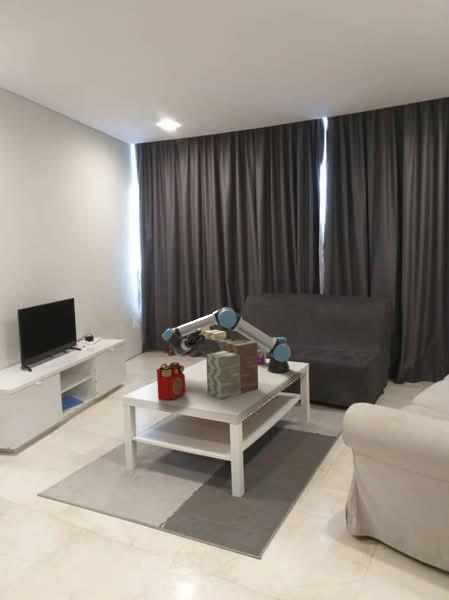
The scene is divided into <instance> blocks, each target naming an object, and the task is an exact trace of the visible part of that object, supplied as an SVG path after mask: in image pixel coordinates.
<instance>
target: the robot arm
mask: <svg viewBox="0 0 449 600" xmlns="http://www.w3.org/2000/svg"><path fill="white" fill-rule="evenodd" d="M215 325H217V326H222V328H226V329H228V330H230V331H231V332H237V333H239V334H240V335H242V336H244V337H245V338H246V339H247V340H249V341H254V342H257V344H258V345H259V346H261V347H263V348H264V349H266V354H268V355H269V362H268V365H267V371H268V372H270V373H273V374H274V373H275V374H280V373H287V371H288V372H289V371H290V365H289V362H288V360H289V358H291V353H292V352H291V348H290V347H289V345H288V344H287V341H288V340H287V338H286V337H284V336H281V337H271V336H269V335H267V334H266V333H264V332H263V331H262V330H260V329H258V328H256V327H255V326H253V325H252V324H250V323H248V322H247V321H245V320H243V316H242V315H240V314H239V313H237V312H236V311H235V310H234V309H233V308H232V307H229V306H226V307H225V306H224V307H221V308H220V309H217V310H216V311H213V312H212V314H209V315H205V316H203V317H200V318H198V319H195V320H193V321H190V322H186V323H184V324H182V325H179V326H176V327H171V328H167V329H166V330H165V331H164V332H163V334H161V338H163V341H166V342H167V344H169V345H170V346H171V347H172V348H173V352H174V355H176V356H179V357H180V356H184V355H185V354H187V352H189V351H190V350H191V349H192V348H193V347H196V345H197V342H198V341H200V340H203V339H205V336H203V335H201V334H202V333H203V332H205V330H209V331H211V329H210V327H212V326H215ZM199 328H200V330H199V331H198V332H196V329H199ZM185 336H186V337H185ZM183 337H185V338H183ZM182 338H183V340H182Z"/></svg>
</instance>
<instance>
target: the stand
mask: <svg viewBox="0 0 449 600" xmlns="http://www.w3.org/2000/svg"><path fill="white" fill-rule="evenodd" d="M234 340H235V341H229V342H225V351H216V352H212V353H207V354H205V357H206V363H205V364H206V386H207V388H206V389H207V395H209V396H212V397H215V398H218V399H219V400H225V399H229V398H232V397H235V396H240V395H243V394H247V393H249V392H253V391H257V390H259V364H258V352H257V342H254V341H251V340H250V339H244V338H241V339H240V338H239V339H234Z"/></svg>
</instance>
